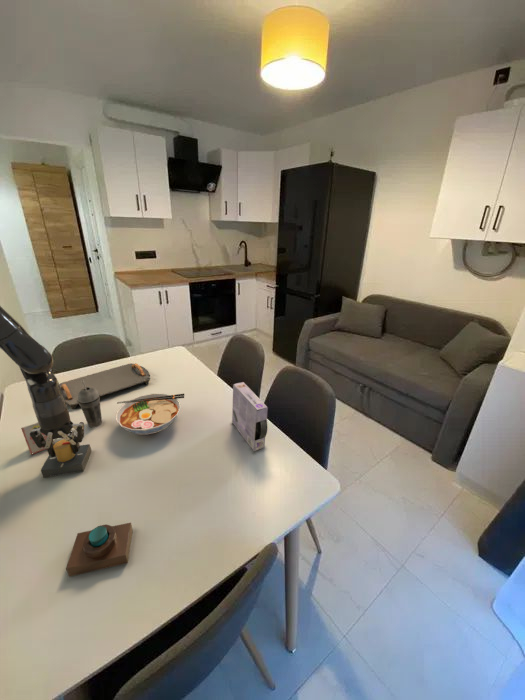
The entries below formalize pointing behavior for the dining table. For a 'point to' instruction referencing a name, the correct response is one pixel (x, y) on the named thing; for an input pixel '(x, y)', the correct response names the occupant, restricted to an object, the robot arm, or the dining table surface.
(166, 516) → the dining table surface
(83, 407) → the beverage cup
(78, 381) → the serving tray
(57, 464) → the dial panel
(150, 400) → the ramen bowl
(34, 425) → the pink printed box
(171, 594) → the dining table surface
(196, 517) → the dining table surface
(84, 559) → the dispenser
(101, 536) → the button
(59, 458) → the dial
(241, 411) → the cake pan box
